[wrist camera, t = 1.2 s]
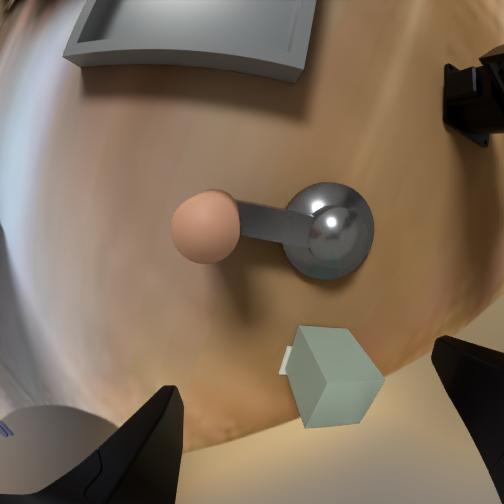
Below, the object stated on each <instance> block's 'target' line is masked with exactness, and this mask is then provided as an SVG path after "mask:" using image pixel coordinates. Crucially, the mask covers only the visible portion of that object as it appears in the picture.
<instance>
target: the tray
mask: <svg viewBox="0 0 504 504" xmlns="http://www.w3.org/2000/svg"><path fill="white" fill-rule="evenodd" d="M315 5H316V0H87V1H86V3H85V5H84V7H83V9H82V11H81V13H80V15H79V17H78V20H77V22H76V24H75V26H74V28H73V31H72V33H71V35H70V38H69V40H68V43H67V45H66V48H65V50H64V53H63V56H62V57H64V58H65V59H67V60H69V61H71V62H72V63H74V64H76V65H77V66H79V67H91V66H103V65H124V64H158V65H179V66H193V67H203V68H212V69H220V70H228V71H234V72H241V73H247V74H252V75H257V76H263V77H268V78H272V79H277V80H281V81H286V82H290V83H295V82H296V80H297V79H298V77H299V76H300V74H301V73H302V71H303V70H304V66H305V60H306V55H307V49H308V44H309V38H310V33H311V27H312V22H313V16H314V11H315Z"/></svg>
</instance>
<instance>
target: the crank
mask: <svg viewBox="0 0 504 504" xmlns="http://www.w3.org/2000/svg"><path fill="white" fill-rule="evenodd" d="M239 235H241V236H246V237H252V238H257V239H263V240H268V241H274V242H279V243H285V244H290V245H295V246H301V247H306V248H308V250H309V251H310V253H311V254H312V255H313V256H314V257H315V258H316V259H317V260H318V262H320V263H321V264H322V265H324V266H326V267H328V268H333V269H340V268H345V267H348V266H350V265H351V264H353V263H354V262H356V261H357V260H358V259H359V258H360V256H361V255H362V253H363V252H364V250H365V247H366V244H367V228H366V225H365V223H364V221H363V219H362V218H361V217H360V216H359V215H358V214H357V213H356V212H354V211H352V210H350V209H347V208H344V207H341V206H338V205H327V206H324V207H321V208H319V209H318V210H316V211H315V212H314V213H313V214H312V215H311V214H306V213H302V212H297V211H292V210H287V209H283V208H278V207H273V206H268V205H263V204H257V203H252V202H247V201H242V200H236V199H234V198H233V197H232V196H231V195H230V194H228V193H226V192H225V191H222V190H217V189H211V190H207V191H204V192H202V193H200V194H198V195H196V196H194V197H192V198H190V199H188V200H186V201H185V202H184V203H182V204H181V205H180V206H179V207H178V209H177V210H176V212H175V213H174V215H173V218H172V222H171V237H172V240H173V243H174V245H175V247H176V248H177V250H178V251H179V252H180V253H181V254H182V255H183V256H184V257H186V258H187V259H189V260H191V261H193V262H196V263H200V264H211V263H215V262H218V261H221V260H223V259H224V258H226V257H227V256H228V255H229V254H230V253H231V252H232V251H233V250H234V248H235V247H236V245H237V242H238V239H239Z"/></svg>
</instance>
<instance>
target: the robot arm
mask: <svg viewBox="0 0 504 504" xmlns="http://www.w3.org/2000/svg"><path fill="white" fill-rule="evenodd" d="M478 59H479V60H480V62H481V64H482V65H483V66H480V67H476V68H475V67H474V66H472V67H469V68H466V69H463V70H459V69H457V68H456V67H454V66H453V65H451V64H449V63H448V64H446V65H445V92H444V114H443V119H444V121H445V123H446V124H448V125H449V126H451V127H453V128H454V129H456V130H458V131H459V132H461V133H462V134H464V135H465V136H467V137H468V138H470V139H471V140H473V141H474V142H476V143H477V144H479V145H480V146H482V147H483V148H486V147H488V141H489V134H498V133H504V45H501V46H498V47H496V48H494V49H492V50H491V51H489V52H488V53H486V54H485V55H483V56H481V57H480V58H478ZM449 68H450V69H449ZM448 118H449V120H448ZM431 360H432V363H433V365H434V367H435V369H436V371H437V373H438V376H439V378H440V380H441V382H442V384H443V386H444V388H445V390H446V392H447V394H448V396H449V398H450V399H451V401H452V402H453V404H454V406H455V408H456V409H457V411H458V413H459V415H460V417H461V418H462V420H463V422H464V423H465V426H466V427H467V429H468V431H469V433H470V435H471V437H472V439H473V441H474V443H475V445H476V446H477V449H478V450H479V453H480V454H481V456H482V459H483V461H484V463H485V465H486V467H487V469H488V470H489V474H490V476H491V478H492V481H493V483H494V485H495V488H496V490H497V493H498V495H499V498H500V500H501V503H502V504H504V353H502V352H499V351H496V350H492V349H489V348H486V347H482V346H479V345H476V344H473V343H469V342H466V341H463V340H460V339H456V338H453V337H450V336H447V335H444V336H441V337H439V338H437V339H436V340H435V344H434V348H433V351H432V355H431ZM183 420H184V405H183V401H182V399H181V396H180V393H179V391H178V388H177V387H176V386H175V385H165V386H163V387H161V388H160V389H159V390H158V391H157V392H156V393H155V394H154V395H153V396H152V397H151V398H150V399H149V400H148V401H147V402H146V403H145V404H144V405H143V406H142V407H141V408H140V409H139V410H138V411H137V412H136V413H135V414H134V415H133V416H131V417H130V418H129V419H128V420H127V421H126V422H125V423H124V424H123V425H122V426H121V427H120V428H119V429H118V430H117V431H116V432H114V433H113V434H112V435H111V436H110V437H109V438H108V439H107V440H106V441H105V442H104V443H103V444H102V445H100V446H99V447H98V449H96V450H95V451H94V452H93V453H92V454H90V455H89V456H88V457H87V458H86V459H85V460H83V461H82V462H81V463H80V464H79V465H77V466H76V467H75V468H74V469H72V470H71V471H69V472H68V473H66V474H65V475H64V476H62V477H60V478H59V479H58V480H56V481H55V482H53V483H52V484H50V485H49V486H47V487H46V488H44V489H42V490H40V491H39V492H36V493H32V494H25V495H17V494H0V504H175V499H176V492H177V484H178V476H179V470H180V463H181V456H182V449H183Z"/></svg>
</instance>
